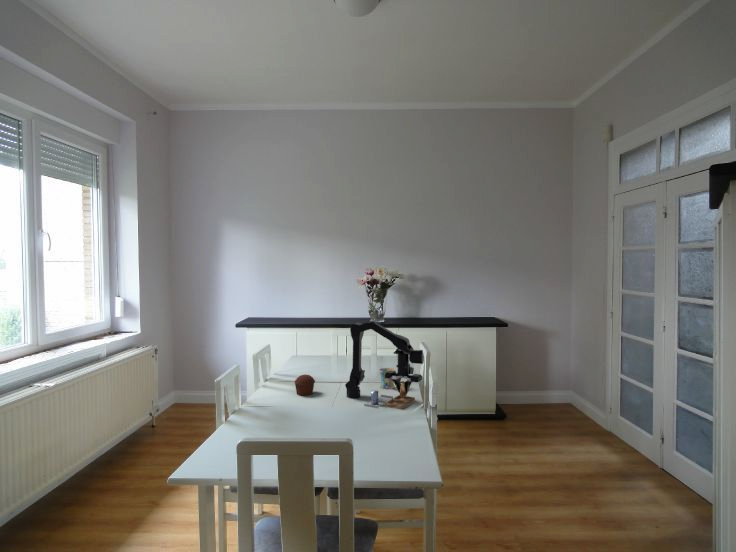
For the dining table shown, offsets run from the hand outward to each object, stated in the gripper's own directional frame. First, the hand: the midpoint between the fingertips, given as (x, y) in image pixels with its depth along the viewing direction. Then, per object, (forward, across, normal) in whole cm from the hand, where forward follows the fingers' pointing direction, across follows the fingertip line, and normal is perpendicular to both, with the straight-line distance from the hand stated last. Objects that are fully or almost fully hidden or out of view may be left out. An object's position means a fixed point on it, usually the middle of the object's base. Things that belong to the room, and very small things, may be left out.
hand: (403, 393), depth 232 cm
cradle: (+5, +10, +7) cm, 13 cm away
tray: (+5, 0, +4) cm, 6 cm away
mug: (+5, +18, -18) cm, 26 cm away
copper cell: (+1, 0, 0) cm, 1 cm away
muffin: (+5, +54, +11) cm, 56 cm away
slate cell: (+4, +10, +11) cm, 16 cm away
